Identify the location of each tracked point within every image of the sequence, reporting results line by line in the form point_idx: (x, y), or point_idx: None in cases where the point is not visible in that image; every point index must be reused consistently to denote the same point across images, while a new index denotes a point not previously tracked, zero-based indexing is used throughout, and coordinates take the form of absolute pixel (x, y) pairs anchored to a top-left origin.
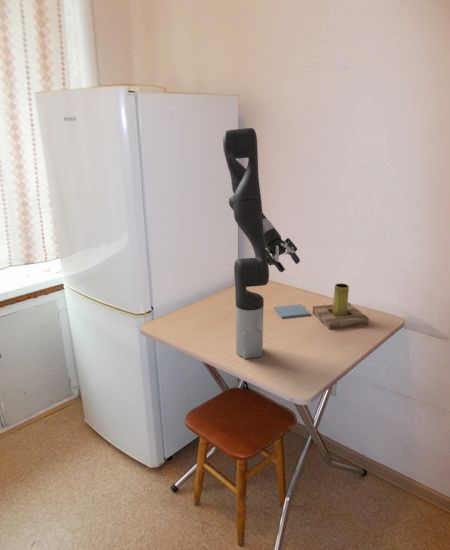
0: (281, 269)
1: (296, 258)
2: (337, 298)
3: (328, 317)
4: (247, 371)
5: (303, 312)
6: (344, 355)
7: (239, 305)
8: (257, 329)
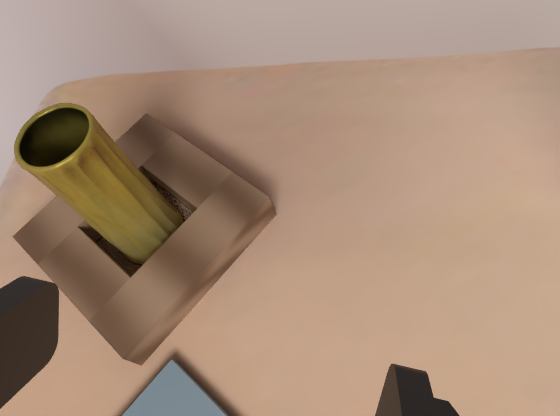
0: (450, 407)
1: (8, 316)
2: (125, 177)
3: (221, 227)
4: None
5: (176, 396)
6: (439, 87)
7: None
8: None
